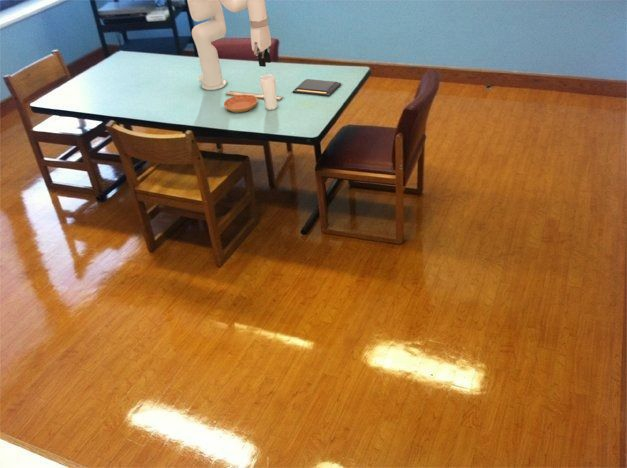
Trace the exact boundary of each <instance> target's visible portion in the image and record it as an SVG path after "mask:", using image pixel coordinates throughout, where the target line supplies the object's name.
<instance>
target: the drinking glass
mask: <svg viewBox="0 0 627 468" xmlns="http://www.w3.org/2000/svg"><path fill="white" fill-rule="evenodd" d="M259 82H260V88H261V92H262V94H263V96H264V99H263V100H264V105H265V109H267V110H269V111H272V110H276V109H277V108H278V103H277V102H278V101H277V99H276V96H277V85H276V78H275V75H274V74H263V75H261V76H260V77H259Z"/></svg>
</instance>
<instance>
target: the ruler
mask: <svg viewBox="0 0 627 468" xmlns="http://www.w3.org/2000/svg"><path fill="white" fill-rule="evenodd" d="M238 95H253V96H255V97H256V98H257V99H261V100H264V96H263V93H254V92H253V93H252V92H242V91H236V90H235V91H234V90H229V91H227V92H226V96H231V97H234V96H238ZM276 99H277V102H278V101H279V102H280V101H281V100H282V99H283V96H281V95H276Z"/></svg>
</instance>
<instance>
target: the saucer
mask: <svg viewBox="0 0 627 468" xmlns="http://www.w3.org/2000/svg"><path fill="white" fill-rule="evenodd" d="M258 99H259V98H256V97H255V96H253V95H238V96H231V97H229V98H226V99H225V100H224V102H223V106H224V108H225V109H226V110H227V111H229V112H232V113H246V112H249V111H251V110H252V109H254V108H255V107H256V105H257V104H258Z"/></svg>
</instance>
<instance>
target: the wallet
mask: <svg viewBox="0 0 627 468" xmlns="http://www.w3.org/2000/svg"><path fill="white" fill-rule="evenodd" d="M341 86H342V83H341V82H338V81H334V80H323V79H311V78H306V79H304V80H303V81H301V83H300V84H299V85H298V86H297V87H295V88H294V89H293V90H292V93H293V94H301V95H302V94H303V95H313V96H321V97H330V96H332V94H333V93H334V92H335V91H337V90H338V88H339V87H341Z"/></svg>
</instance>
